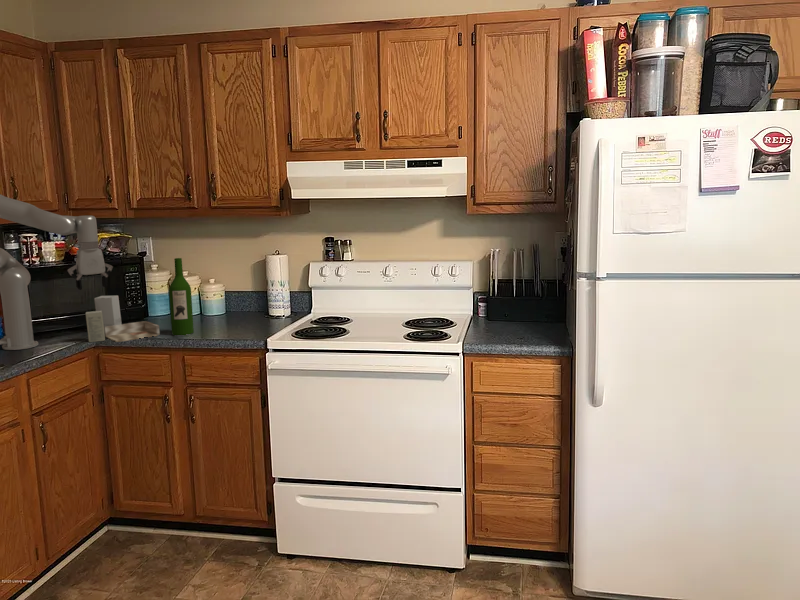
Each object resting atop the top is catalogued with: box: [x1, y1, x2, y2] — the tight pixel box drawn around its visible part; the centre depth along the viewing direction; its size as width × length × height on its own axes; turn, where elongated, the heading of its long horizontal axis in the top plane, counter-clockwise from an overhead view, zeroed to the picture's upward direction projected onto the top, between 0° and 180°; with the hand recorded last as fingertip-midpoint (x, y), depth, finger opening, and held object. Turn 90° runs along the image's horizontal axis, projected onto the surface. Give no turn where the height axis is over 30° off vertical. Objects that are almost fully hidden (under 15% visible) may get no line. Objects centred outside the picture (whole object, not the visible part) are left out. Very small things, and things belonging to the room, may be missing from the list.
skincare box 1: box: [85, 310, 106, 343], centre depth 280 cm, size 6×4×12 cm
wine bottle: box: [168, 257, 195, 336], centre depth 291 cm, size 9×9×32 cm
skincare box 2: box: [94, 294, 123, 333], centre depth 300 cm, size 8×7×16 cm
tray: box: [104, 320, 161, 343], centre depth 289 cm, size 18×14×4 cm
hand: (92, 288), depth 278 cm, fingers open, 9 cm apart
